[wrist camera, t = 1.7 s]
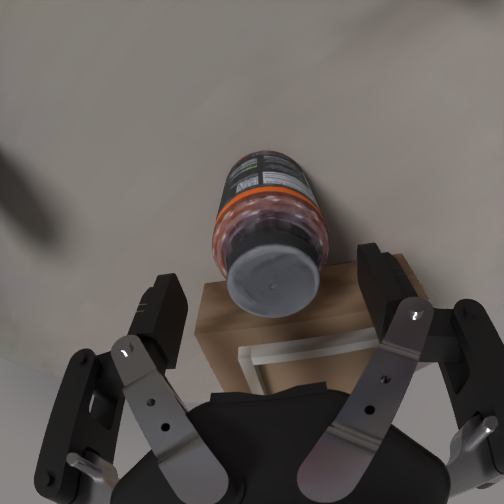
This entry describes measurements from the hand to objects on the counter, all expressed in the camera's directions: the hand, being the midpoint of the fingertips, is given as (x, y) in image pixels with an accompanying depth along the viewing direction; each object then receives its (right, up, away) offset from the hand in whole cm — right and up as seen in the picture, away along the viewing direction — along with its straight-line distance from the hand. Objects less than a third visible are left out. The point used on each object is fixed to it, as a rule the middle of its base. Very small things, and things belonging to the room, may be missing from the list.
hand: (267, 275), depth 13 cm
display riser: (+5, -7, +17) cm, 20 cm away
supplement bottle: (0, +6, +9) cm, 11 cm away
